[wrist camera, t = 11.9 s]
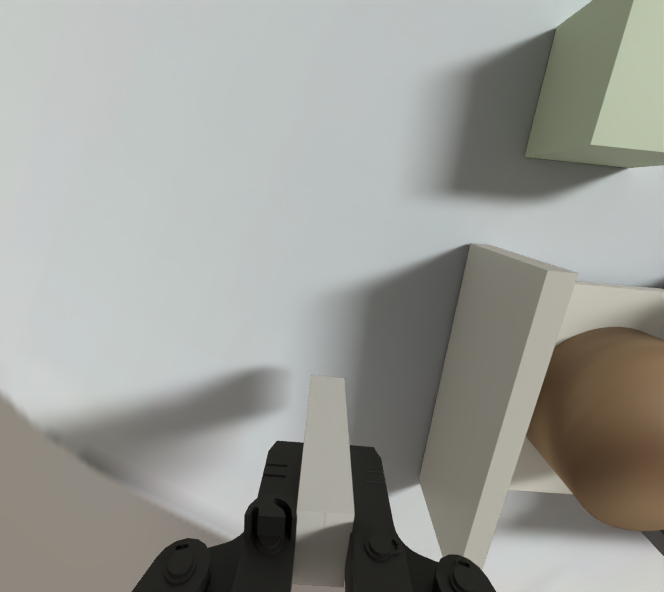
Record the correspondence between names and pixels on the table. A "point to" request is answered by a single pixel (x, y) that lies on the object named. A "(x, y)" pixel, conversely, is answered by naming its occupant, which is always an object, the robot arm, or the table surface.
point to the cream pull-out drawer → (508, 385)
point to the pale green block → (604, 87)
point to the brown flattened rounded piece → (606, 424)
